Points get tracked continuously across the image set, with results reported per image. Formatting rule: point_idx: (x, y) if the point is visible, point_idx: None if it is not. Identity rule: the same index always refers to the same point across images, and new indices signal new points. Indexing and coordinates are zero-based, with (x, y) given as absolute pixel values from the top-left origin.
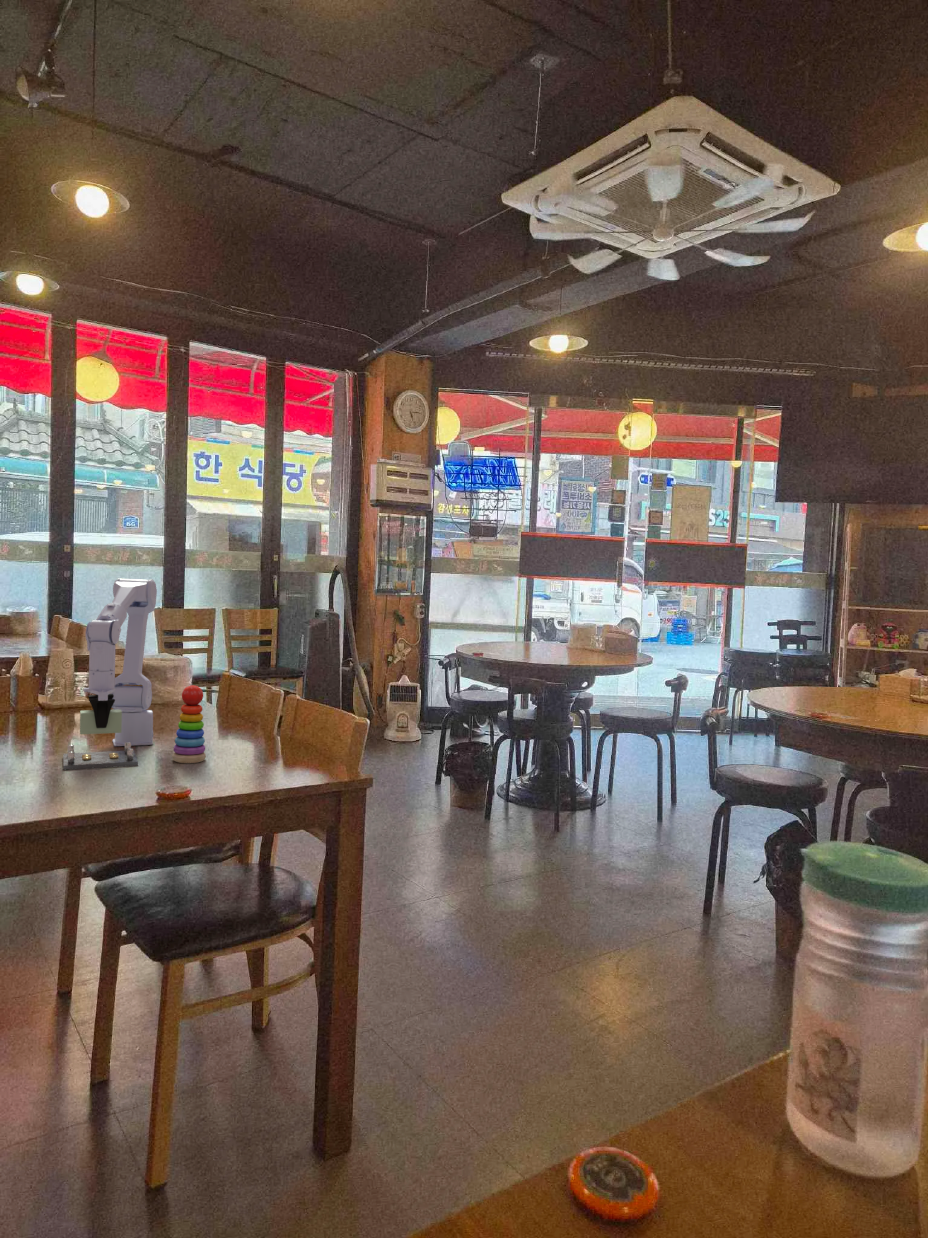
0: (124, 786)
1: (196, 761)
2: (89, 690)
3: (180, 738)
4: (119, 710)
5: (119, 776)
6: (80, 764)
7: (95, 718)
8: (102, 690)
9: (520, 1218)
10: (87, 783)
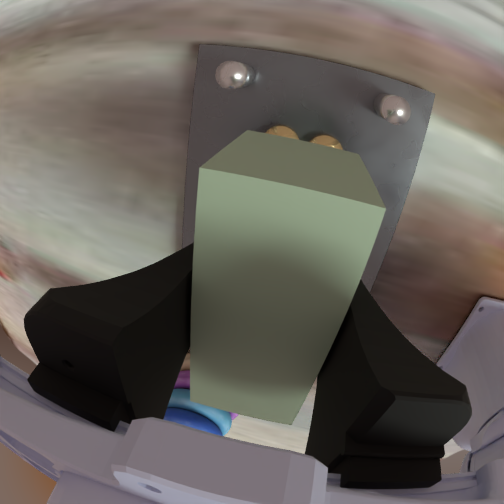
0: (13, 187)
1: None
2: (107, 461)
3: (173, 406)
4: (252, 413)
5: (81, 195)
6: (195, 103)
7: (173, 255)
8: (31, 460)
9: None
10: (38, 111)
